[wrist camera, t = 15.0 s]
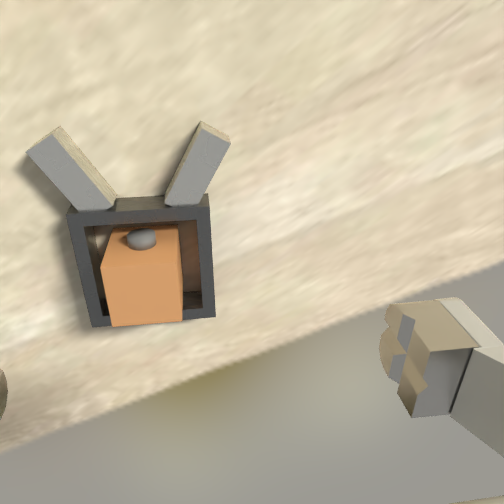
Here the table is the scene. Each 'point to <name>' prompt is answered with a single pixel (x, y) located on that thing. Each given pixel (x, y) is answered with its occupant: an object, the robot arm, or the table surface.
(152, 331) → the table surface
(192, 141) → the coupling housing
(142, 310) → the block
